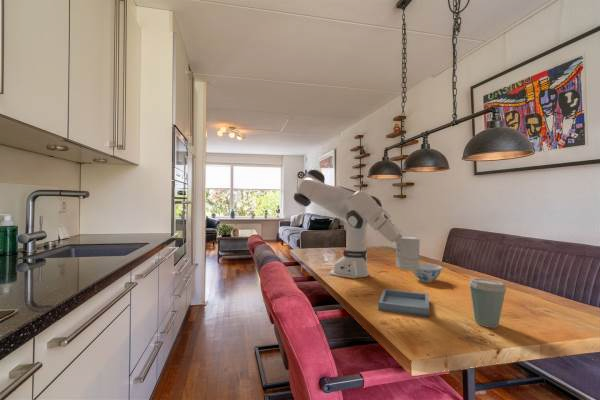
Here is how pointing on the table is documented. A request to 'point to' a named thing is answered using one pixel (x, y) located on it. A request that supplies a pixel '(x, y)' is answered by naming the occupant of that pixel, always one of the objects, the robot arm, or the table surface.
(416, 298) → the tray
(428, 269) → the chinaware
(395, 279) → the table surface
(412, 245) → the supplement box
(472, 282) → the disposable coffee cup
